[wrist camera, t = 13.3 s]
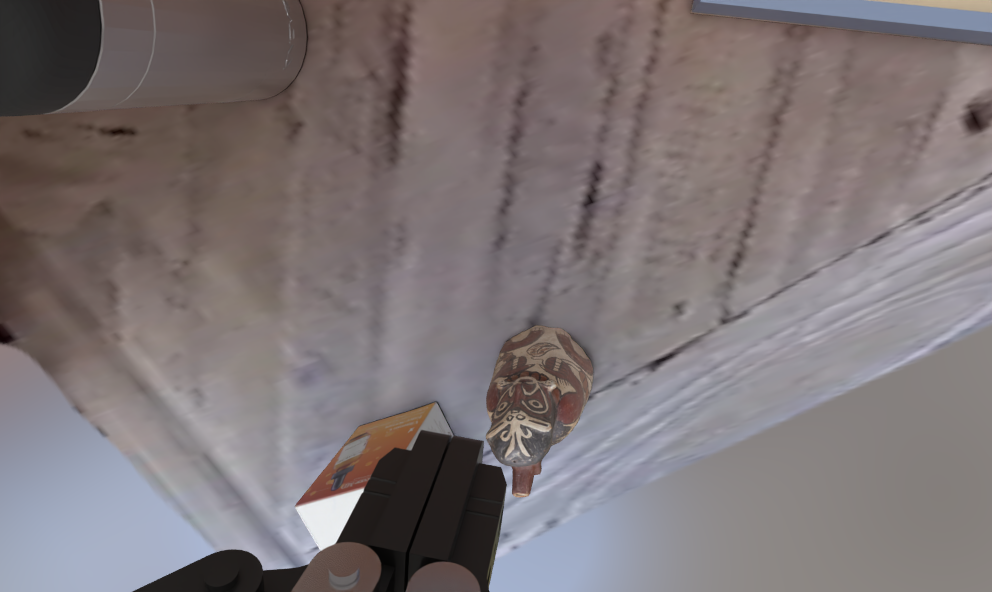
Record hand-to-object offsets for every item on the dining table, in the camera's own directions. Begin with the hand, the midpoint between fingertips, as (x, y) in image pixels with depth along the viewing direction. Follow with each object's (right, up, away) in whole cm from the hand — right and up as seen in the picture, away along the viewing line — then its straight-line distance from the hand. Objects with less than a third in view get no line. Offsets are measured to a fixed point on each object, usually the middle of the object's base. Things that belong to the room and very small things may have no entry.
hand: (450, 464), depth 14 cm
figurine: (+5, -2, +32) cm, 32 cm away
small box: (-6, -8, +36) cm, 38 cm away
